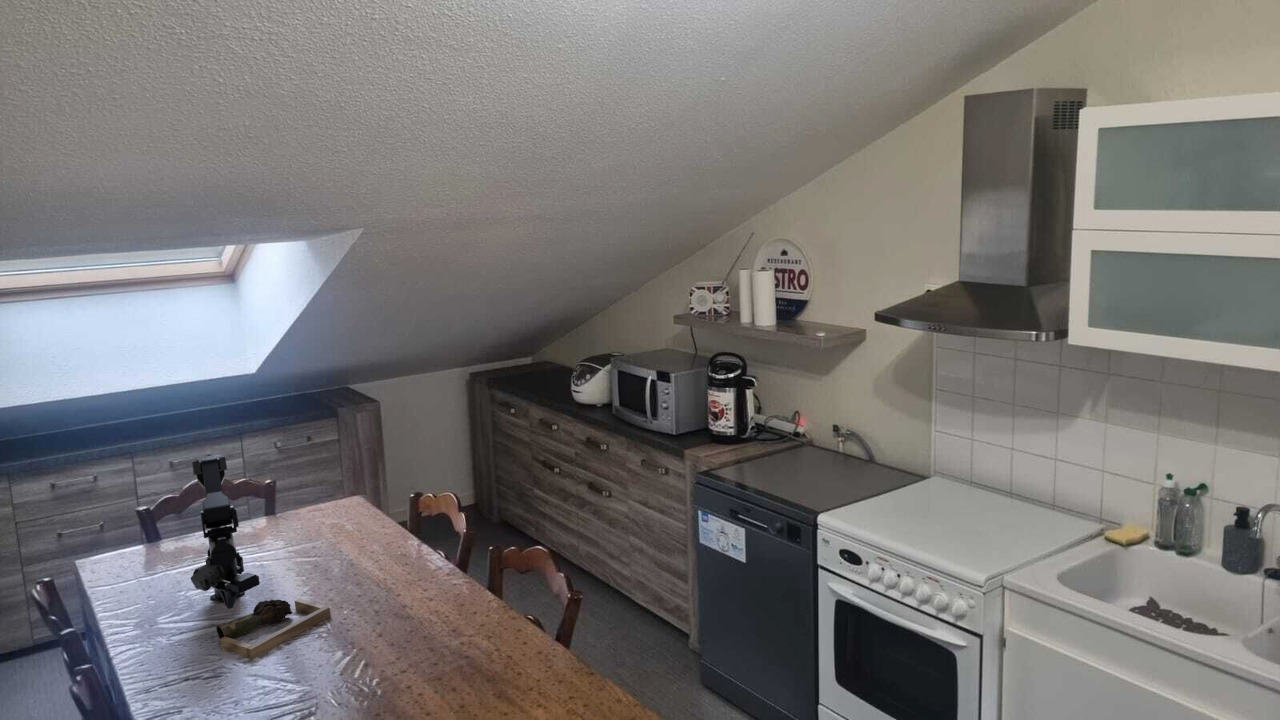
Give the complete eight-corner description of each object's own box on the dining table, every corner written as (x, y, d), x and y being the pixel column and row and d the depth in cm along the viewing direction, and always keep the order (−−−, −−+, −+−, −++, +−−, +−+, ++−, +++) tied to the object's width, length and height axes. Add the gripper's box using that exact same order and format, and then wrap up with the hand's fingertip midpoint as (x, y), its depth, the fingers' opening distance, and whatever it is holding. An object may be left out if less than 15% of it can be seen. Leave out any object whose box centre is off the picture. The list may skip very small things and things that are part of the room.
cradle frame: (220, 648, 229) (219, 639, 228) (300, 607, 249) (299, 598, 249) (252, 659, 223) (250, 649, 223) (330, 615, 244) (329, 606, 243)
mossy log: (225, 646, 231) (222, 624, 230) (214, 637, 235) (211, 616, 234) (295, 619, 243) (292, 599, 242) (283, 611, 248) (280, 591, 246)
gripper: (170, 556, 239) (178, 614, 242) (219, 570, 230) (227, 629, 233) (209, 541, 248) (217, 596, 251) (257, 553, 239) (264, 610, 242)
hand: (230, 608), depth 244 cm, fingers closed
